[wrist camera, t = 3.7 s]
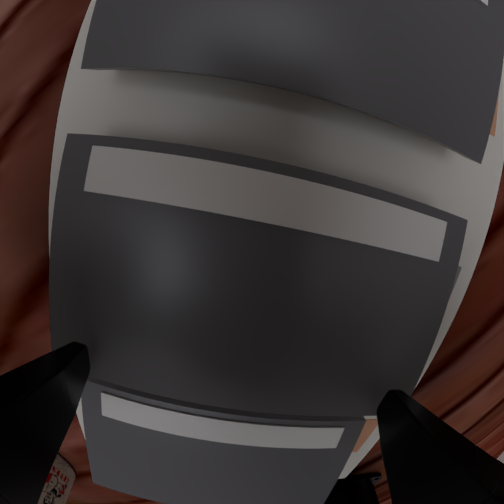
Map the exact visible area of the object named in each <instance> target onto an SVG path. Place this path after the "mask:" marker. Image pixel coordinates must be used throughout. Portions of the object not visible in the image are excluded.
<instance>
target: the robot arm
mask: <svg viewBox="0 0 504 504" xmlns="http://www.w3.org/2000/svg"><path fill="white" fill-rule="evenodd" d="M89 373H90V360H89V353H88V347H87V346H86V345H85V344H82V343H79V342H76V341H73V342H71V343H69V344H66V345H64V346H62V347H60V348H58V349H56V350H54V351H52V352H49V353H47V354H45V355H43V356H41V357H39V358H37V359H35V360H33V361H30V362H28V363H26V364H24V365H22V366H20V367H18V368H16V369H13V370H11V371H9V372H7V373H5V374H3V375H1V376H0V504H38V501H39V499H40V496H41V493H42V491H43V488H44V485H45V483H46V480H47V478H48V475H49V473H50V470H51V468H52V465H53V463H54V461H55V458H56V456H57V454H58V451H59V449H60V447H61V444H62V442H63V440H64V438H65V435H66V433H67V431H68V429H69V427H70V425H71V422H72V420H73V418H74V416H75V413H76V410H77V408H78V405H79V402H80V399H81V396H82V393H83V390H84V387H85V384H86V382H87V379H88V376H89ZM376 415H377V422H378V429H379V437H380V445H381V452H382V457H383V461H384V466H385V470H386V475H387V480H388V484H389V489H390V494H391V499H392V504H504V464H503V463H502V462H500V461H499V460H497V459H495V458H494V457H492V456H491V455H489V454H488V453H486V452H485V451H483V450H482V449H481V448H479V447H478V446H475V444H474V443H472V442H471V441H470V440H468V439H467V438H465V437H464V436H463V435H461V434H460V433H459V432H457V431H456V430H455V429H453V428H452V427H450V426H449V425H448V424H446V423H445V422H444V421H442V420H441V419H440V418H438V417H437V416H436V415H434V414H433V413H432V412H430V411H429V410H427V409H426V408H425V407H423V406H422V405H421V404H419V403H418V402H417V401H415V400H414V399H413V398H411V397H410V396H409V395H408V394H406V393H405V392H404V391H402V390H400V389H392V390H389V391H388V392H387V393H386V395H385V396H384V398H383V399H382V401H381V402H380V404H379V406H378V407H377V412H376ZM381 478H382V476H381V473H375V474H368V475H360V476H351V477H346V478H342V479H338V480H337V482H336V483H335V485H334V487H333V489H332V491H331V492H330V494H329V496H328V497H327V499H326V501H325V502H324V504H379V501H378V498H377V495H376V491H375V488H374V485H375V484H376V483H377V482H378V481H379V480H380V479H381Z"/></svg>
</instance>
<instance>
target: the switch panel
mask: <svg viewBox="0 0 504 504" xmlns="http://www.w3.org/2000/svg"><path fill="white" fill-rule="evenodd" d="M95 3H96V0H91V3H90V5H89V8H88V10H87V13H86V16H85V18H84V21H83V24H82V26H81V29H80V32H79V35H78V38H77V41H76V45H75V48H74V51H73V54H72V58H71V61H70V65H69V69H68V73H67V77H66V81H65V85H64V89H63V94H62V99H61V104H60V109H59V114H58V120H57V126H56V132H55V139H54V147H53V156H52V166H51V177H50V193H49V258H50V243H51V230H52V220H53V211H54V203H55V196H56V189H57V182H58V176H59V171H60V165H61V160H62V155H63V151H64V146H65V142H66V137H67V133H72V134H90V135H104V136H116V137H126V138H136V139H145V140H153V141H161V142H169V143H176V144H183V145H190V146H196V147H203V148H209V149H215V150H220V151H226V152H232V153H237V154H242V155H247V156H252V157H257V158H262V159H267V160H271V161H276V162H280V163H285V164H289V165H293V166H298V167H302V168H306V169H310V170H314V171H318V172H322V173H326V174H329V175H333V176H337V177H341V178H344V179H348V180H351V181H355V182H358V183H362V184H365V185H368V186H372V187H375V188H378V189H382V190H385V191H388V192H391V193H394V194H397V195H400V196H403V197H406V198H409V199H412V200H415V201H418V202H421V203H424V204H427V205H429V206H432V207H435V208H438V209H440V210H443V211H446V212H448V213H451V214H454V215H456V216H459V217H461V218H464V219H466V220H468V222H467V227H466V233H465V238H464V243H463V247H462V252H461V256H460V261H459V265H458V269H457V273H456V277H455V280H454V284H453V288H452V291H451V294H450V298H449V301H448V304H447V307H446V311H445V314H444V317H443V320H442V323H441V325H440V328H439V331H438V334H437V337H436V339H435V342H434V344H433V347H432V350H431V352H430V355H429V357H428V359H427V362H426V364H425V367H424V369H423V371H422V374H421V376H420V378H419V380H418V382H417V384H418V383H419V381H420V380H421V378H422V376H423V375H424V373H425V371H426V370H427V368H428V366H429V365H430V363H431V361H432V359H433V358H434V356H435V354H436V352H437V350H438V349H439V347H440V345H441V343H442V341H443V339H444V337H445V335H446V333H447V331H448V329H449V327H450V325H451V323H452V321H453V319H454V317H455V315H456V313H457V310H458V308H459V306H460V304H461V302H462V299H463V297H464V295H465V292H466V290H467V287H468V285H469V282H470V280H471V277H472V275H473V272H474V269H475V267H476V264H477V261H478V258H479V256H480V253H481V250H482V247H483V244H484V241H485V237H486V234H487V231H488V227H489V224H490V220H491V217H492V213H493V209H494V205H495V201H496V197H497V193H498V188H499V183H500V178H501V173H502V168H503V162H504V59H503V67H502V75H501V81H500V88H499V93H498V99H497V104H496V109H495V114H494V118H493V122H492V127H491V131H490V135H489V138H488V142H487V146H486V149H485V153H484V156H483V160H482V163H481V164H479V163H477V162H475V161H472V160H470V159H468V158H465V157H463V156H461V155H459V154H458V153H456V152H454V151H452V150H450V149H448V148H446V147H444V146H442V145H440V144H438V143H435V142H433V141H431V140H429V139H427V138H425V137H422V136H420V135H418V134H416V133H413V132H411V131H409V130H406V129H404V128H402V127H399V126H397V125H394V124H392V123H389V122H387V121H384V120H381V119H379V118H376V117H373V116H371V115H368V114H365V113H362V112H359V111H356V110H353V109H350V108H347V107H344V106H341V105H338V104H335V103H331V102H328V101H325V100H321V99H318V98H314V97H310V96H307V95H303V94H299V93H295V92H291V91H287V90H282V89H278V88H274V87H269V86H264V85H259V84H254V83H249V82H243V81H238V80H232V79H225V78H219V77H211V76H204V75H195V74H186V73H175V72H162V71H143V70H89V69H81V65H82V59H83V54H84V49H85V44H86V39H87V35H88V30H89V26H90V22H91V18H92V14H93V11H94V7H95ZM416 386H417V385H416ZM415 388H416V387H415ZM76 413H77V416H78V419H79V422H80V425H81V428H82V431H83V434H84V437H85V431H84V423H83V413H82V402H81V399H80V402H79V405H78V408H77V410H76ZM363 417H364V418H365V420H366V422H365V425H364V427H363V429H362V431H361V434H360V436H359V438H358V440H357V442H356V444H355V447H354V449H353V451H352V453H351V455H350V457H349V459H348V461H347V463H346V465H345V467H344V469H343V471H342V472H341V474H340V476H339V478H338V479H342V478H346V477H347V476H348V475H349V473H350V472H351V471H352V470H353V469H354V468H355V467H356V466H357V465H358V463H359V462H360V461H361V460H362V459H363V458H364V457H365V455H366V454H367V453H368V452H369V451H370V449H371V448H372V447H373V446H374V445H375V443H376V442H377V441H378V440H379V438H380V437H379V429H378V422H377V416H363ZM85 440H86V439H85Z"/></svg>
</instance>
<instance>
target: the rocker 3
mask: <svg viewBox="0 0 504 504" xmlns="http://www.w3.org/2000/svg"><path fill="white" fill-rule="evenodd" d="M81 402H82V413H83V423H84V431H85V439H86V446H87V452H88V459H89V464H90V470H91V475H92V480H93V483H95V484H98V485H101V486H104V487H107V488H110V489H113V490H116V491H119V492H122V493H126V494H129V495H133V496H137V497H140V498H144V499H148V500H152V501H157V502H161V503H166V504H324V502H325V501H326V499H327V497H328V496H329V494H330V492H331V491H332V489H333V487H334V485H335V483H336V482H337V480H338V478H339V476H340V474H341V472H342V471H343V469H344V467H345V465H346V463H347V461H348V459H349V457H350V455H351V453H352V451H353V449H354V447H355V444H356V442H357V440H358V438H359V436H360V434H361V431H362V429H363V427H364V425H365V422H366V420H365V418H364V417H363V416H302V415H285V414H272V413H261V412H252V411H243V410H236V409H228V408H221V407H215V406H209V405H203V404H197V403H192V402H187V401H182V400H177V399H172V398H167V397H163V396H159V395H154V394H150V393H146V392H142V391H138V390H135V389H131V388H127V387H124V386H120V385H117V384H113V383H110V382H107V381H103V380H100V379H97V378H94V377H91V376H88V379H87V382H86V384H85V387H84V390H83V393H82V396H81Z"/></svg>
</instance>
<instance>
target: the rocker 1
mask: <svg viewBox="0 0 504 504" xmlns="http://www.w3.org/2000/svg"><path fill="white" fill-rule="evenodd" d="M503 59H504V0H96V3H95V7H94V11H93V14H92V18H91V22H90V26H89V30H88V35H87V39H86V44H85V49H84V54H83V59H82V65H81V69H89V70H143V71H162V72H175V73H186V74H195V75H204V76H211V77H219V78H225V79H232V80H238V81H243V82H249V83H254V84H259V85H264V86H269V87H274V88H278V89H282V90H287V91H291V92H295V93H299V94H303V95H307V96H310V97H314V98H318V99H321V100H325V101H328V102H331V103H335V104H338V105H341V106H344V107H347V108H350V109H353V110H356V111H359V112H362V113H365V114H368V115H371V116H373V117H376V118H379V119H381V120H384V121H387V122H389V123H392V124H394V125H397V126H399V127H402V128H404V129H406V130H409V131H411V132H413V133H416V134H418V135H420V136H422V137H425V138H427V139H429V140H431V141H433V142H435V143H438V144H440V145H442V146H444V147H446V148H448V149H450V150H452V151H454V152H456V153H458V154H459V155H461V156H463V157H465V158H468V159H470V160H472V161H475V162H477V163H479V164H481V163H482V160H483V156H484V153H485V149H486V146H487V142H488V138H489V135H490V131H491V127H492V122H493V118H494V114H495V109H496V104H497V99H498V93H499V88H500V81H501V75H502V67H503Z"/></svg>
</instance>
